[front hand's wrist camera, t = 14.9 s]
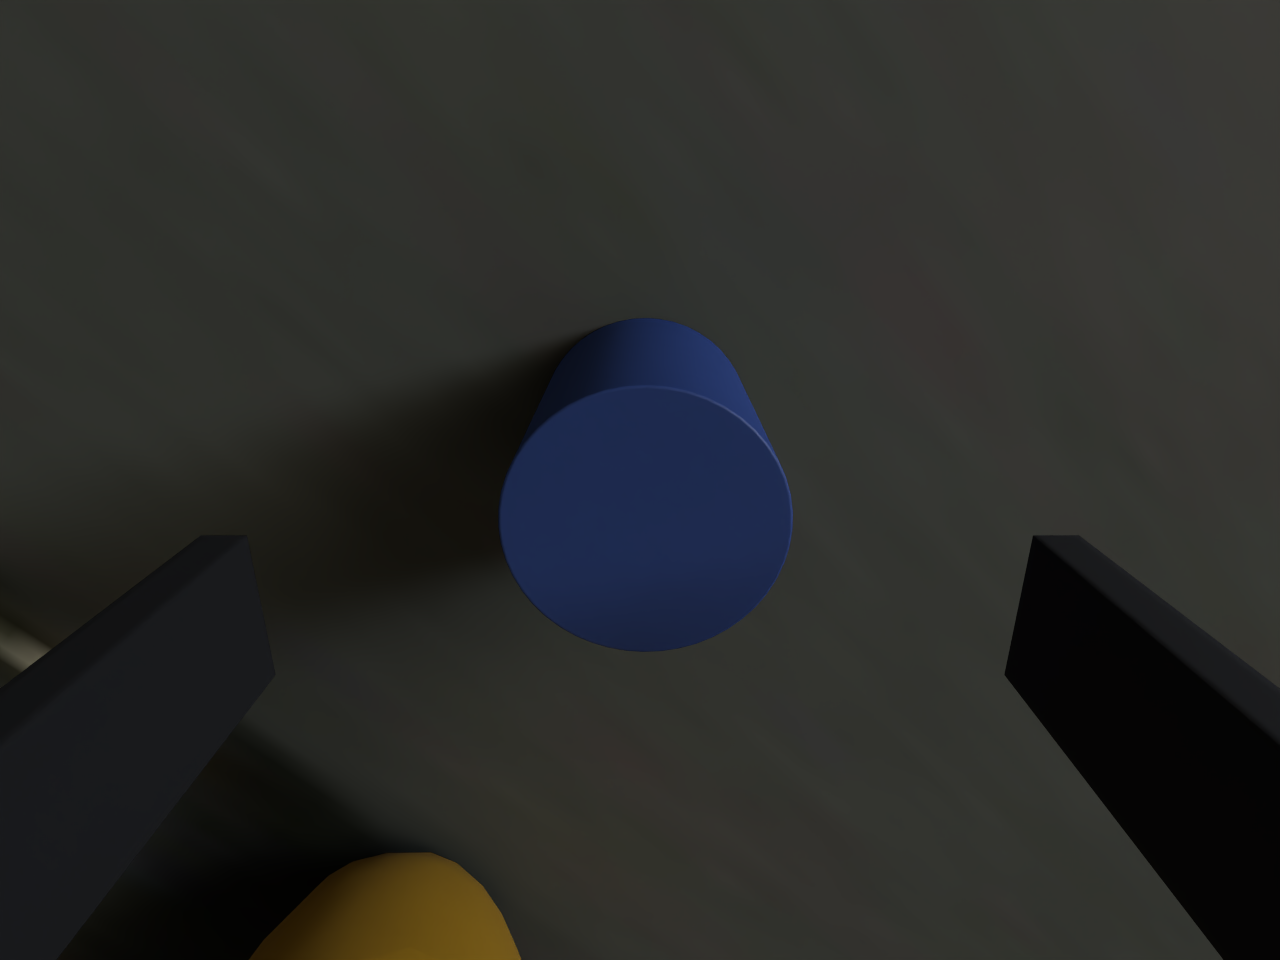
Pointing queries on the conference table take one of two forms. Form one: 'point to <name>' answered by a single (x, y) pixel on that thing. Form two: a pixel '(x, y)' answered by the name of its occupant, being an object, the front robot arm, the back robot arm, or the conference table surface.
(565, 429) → the canister
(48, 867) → the front robot arm
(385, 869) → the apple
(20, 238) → the conference table surface
